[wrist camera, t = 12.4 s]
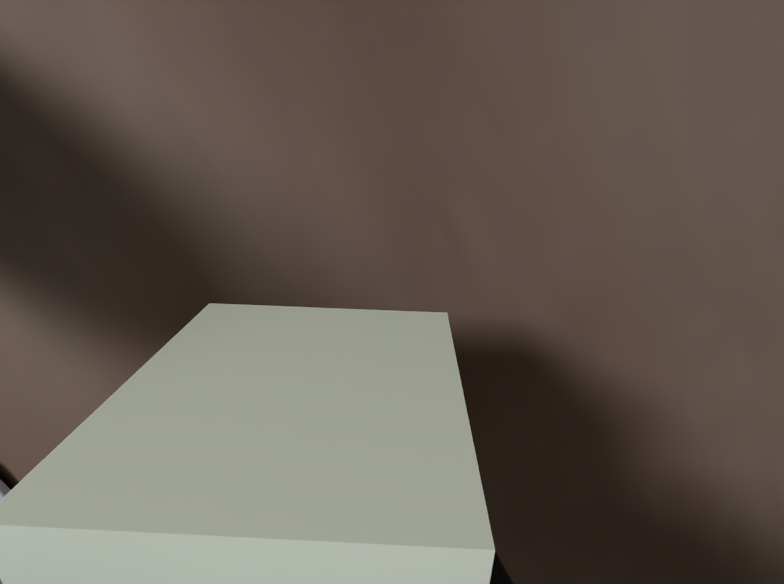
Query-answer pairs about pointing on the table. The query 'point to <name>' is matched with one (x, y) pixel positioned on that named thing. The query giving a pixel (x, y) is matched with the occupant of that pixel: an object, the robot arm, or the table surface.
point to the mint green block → (266, 462)
